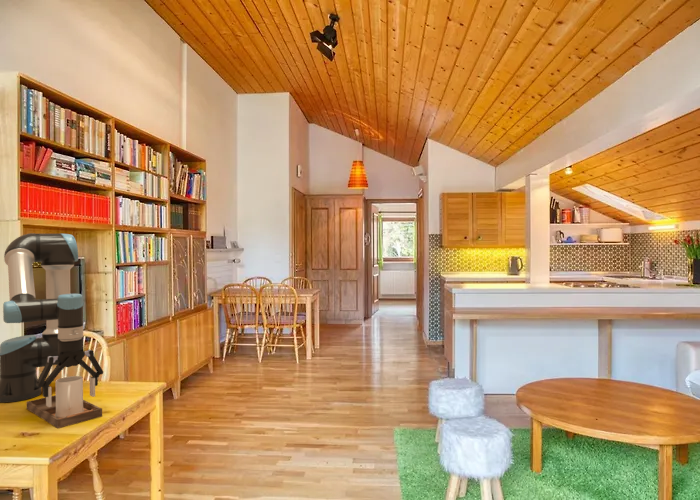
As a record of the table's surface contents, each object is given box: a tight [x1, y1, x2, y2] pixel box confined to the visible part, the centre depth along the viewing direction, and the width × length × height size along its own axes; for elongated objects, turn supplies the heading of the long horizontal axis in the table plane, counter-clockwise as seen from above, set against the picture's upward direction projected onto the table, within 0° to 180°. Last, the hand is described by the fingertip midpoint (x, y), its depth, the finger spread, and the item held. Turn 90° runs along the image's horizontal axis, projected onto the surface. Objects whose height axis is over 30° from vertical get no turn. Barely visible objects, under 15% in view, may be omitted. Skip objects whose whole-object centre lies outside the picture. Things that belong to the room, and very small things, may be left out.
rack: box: [26, 394, 103, 429], centre depth 162 cm, size 30×14×3 cm, turn 51°
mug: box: [55, 375, 84, 418], centre depth 157 cm, size 12×8×12 cm
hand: (71, 400), depth 157 cm, fingers open, 13 cm apart
